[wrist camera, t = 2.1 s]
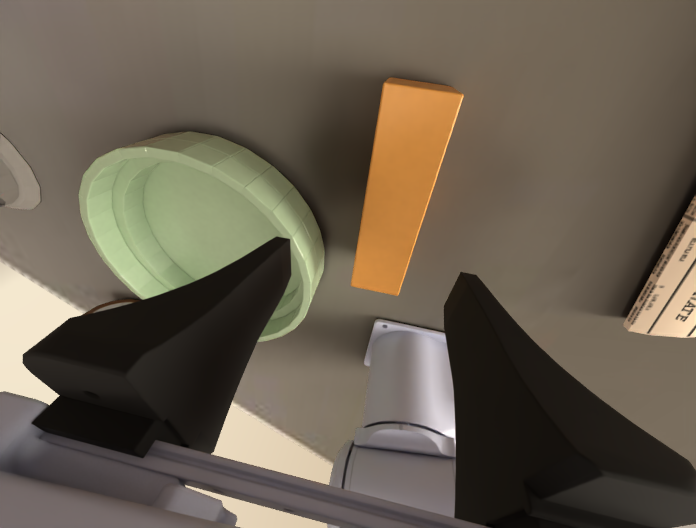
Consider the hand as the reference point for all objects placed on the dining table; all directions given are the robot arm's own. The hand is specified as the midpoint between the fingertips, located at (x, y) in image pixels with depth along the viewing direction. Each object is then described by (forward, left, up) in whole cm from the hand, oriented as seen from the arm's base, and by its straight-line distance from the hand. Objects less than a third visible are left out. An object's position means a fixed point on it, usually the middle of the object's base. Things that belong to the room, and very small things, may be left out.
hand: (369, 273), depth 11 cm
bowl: (+12, +7, -9) cm, 17 cm away
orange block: (-1, 0, -9) cm, 9 cm away
